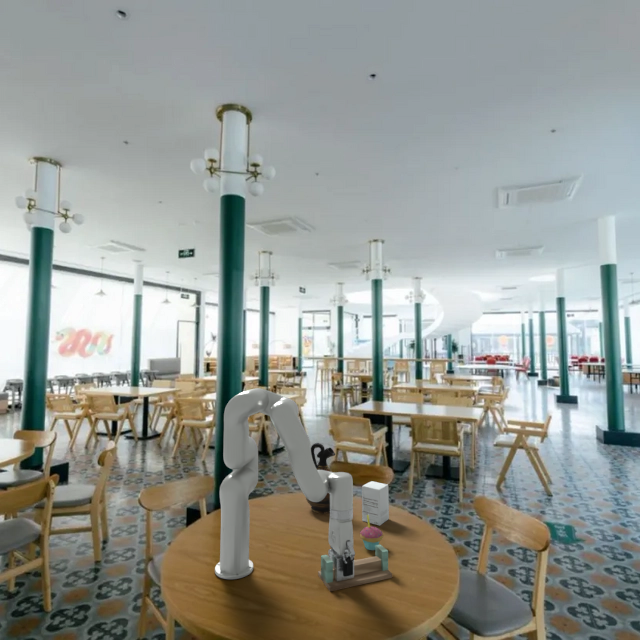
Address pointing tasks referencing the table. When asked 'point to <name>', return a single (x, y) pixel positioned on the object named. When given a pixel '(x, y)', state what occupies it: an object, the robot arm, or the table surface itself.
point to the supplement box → (375, 502)
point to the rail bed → (357, 579)
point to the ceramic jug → (324, 504)
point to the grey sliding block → (339, 565)
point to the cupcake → (371, 536)
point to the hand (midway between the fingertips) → (341, 567)
